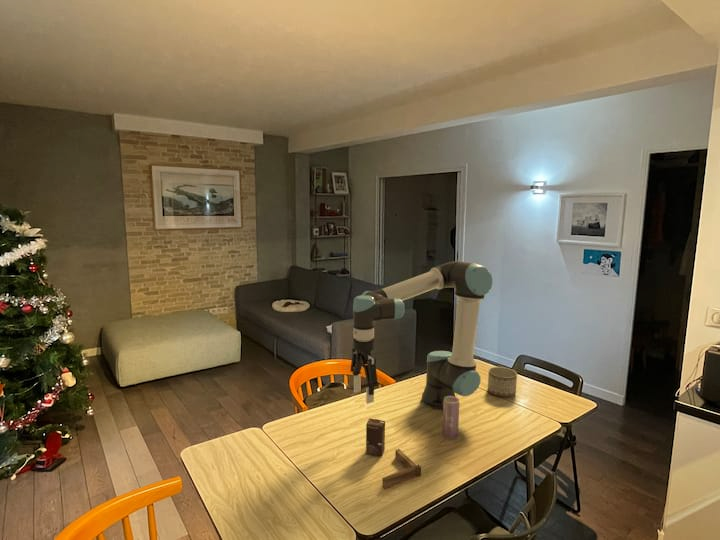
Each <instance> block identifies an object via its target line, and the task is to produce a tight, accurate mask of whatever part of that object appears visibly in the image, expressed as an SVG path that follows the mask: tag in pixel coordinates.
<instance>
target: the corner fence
mask: <svg viewBox="0 0 720 540" xmlns="http://www.w3.org/2000/svg"><path fill="white" fill-rule="evenodd" d="M394 455H395V459H396V460H397V461H398V462H399V463H400V464H401V465H402V466H403V467H404V468H405V469H403V470H401V471H398V472H395V473H392V474H389V475H387V476H384V477H382V479H381V480H382V481H381V482H382V483H381V486H382V488H383V489H384V490H387V489H389V488H392V487H395V486H397V485H400V484H402V483H406V482H408V481H411V480H414V479H416V478H417V477H421V476H422V466H421V465H420V464H416V463H415V462H414V461H413V460H411V458H410V457H408V455H406V454H405V453H404V452H403V451H402V450H401V449H400V448H397V449H395V454H394Z"/></svg>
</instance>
